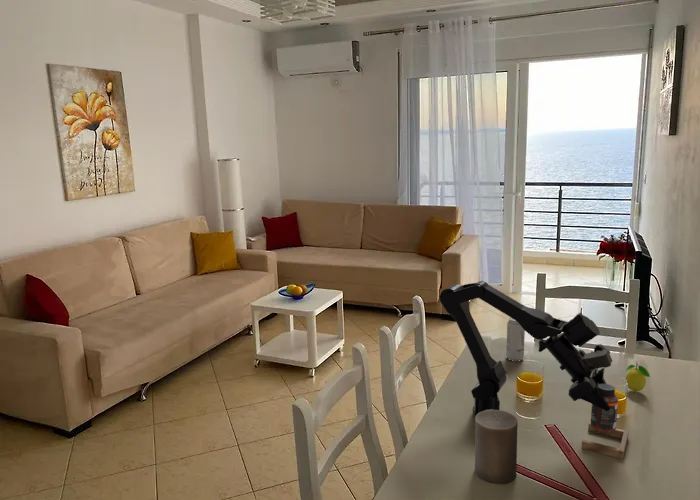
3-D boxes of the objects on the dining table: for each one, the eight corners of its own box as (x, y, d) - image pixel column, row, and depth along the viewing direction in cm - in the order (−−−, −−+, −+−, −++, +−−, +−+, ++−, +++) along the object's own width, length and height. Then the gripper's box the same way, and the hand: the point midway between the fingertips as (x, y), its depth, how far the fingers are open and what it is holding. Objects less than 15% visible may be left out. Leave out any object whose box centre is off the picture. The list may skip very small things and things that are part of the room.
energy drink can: (520, 363, 189) (522, 322, 186) (504, 360, 193) (505, 320, 190) (525, 357, 194) (527, 317, 191) (509, 354, 197) (510, 315, 194)
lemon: (648, 398, 162) (650, 366, 160) (626, 395, 164) (628, 364, 162) (644, 388, 168) (646, 358, 166) (623, 386, 170) (625, 356, 168)
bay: (581, 448, 137) (581, 441, 136) (588, 428, 146) (589, 422, 145) (623, 459, 132) (623, 451, 131) (627, 438, 141) (628, 431, 140)
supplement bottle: (621, 431, 136) (625, 390, 134) (601, 435, 135) (604, 393, 132) (604, 420, 142) (607, 380, 140) (585, 423, 140) (588, 383, 138)
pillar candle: (524, 479, 125) (526, 419, 122) (487, 488, 122) (488, 427, 120) (501, 457, 134) (503, 401, 131) (466, 464, 132) (467, 407, 129)
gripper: (586, 350, 128) (634, 405, 124) (598, 327, 143) (641, 375, 140) (549, 374, 134) (594, 427, 130) (565, 349, 149) (605, 395, 146)
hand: (610, 404), depth 136 cm, fingers closed on supplement bottle, 6 cm apart
